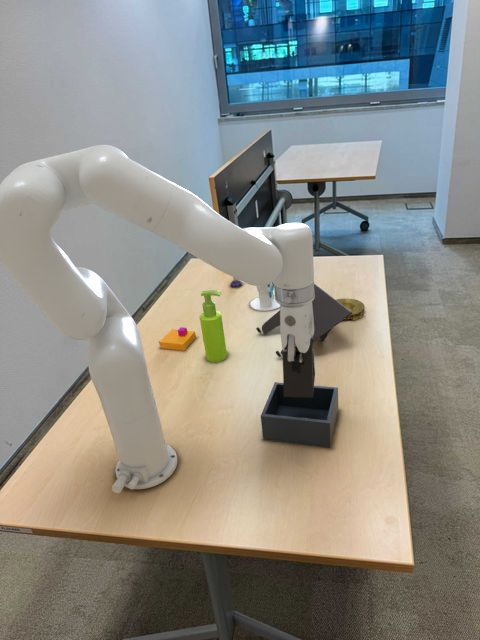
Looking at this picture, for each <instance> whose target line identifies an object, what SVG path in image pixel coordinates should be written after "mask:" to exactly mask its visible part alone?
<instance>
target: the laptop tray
mask: <svg viewBox="0 0 480 640" xmlns="http://www.w3.org/2000/svg"><path fill="white" fill-rule="evenodd" d="M314 294H315V298H314V300H313V301H312V306H313V318H314V335H313V343H314V342H316V341H318V340H319V339H320V341H321V342H324V341H325V340H326V338H327V337H328V336H329V334H330V332H331V331H332V330H333V329H334V328H335V327H336V326H337V325H339V324H340V323H342V322H343V321H344V320H346V319H345V318H346V317H347V316H349V315H351V314H352V312H351V311H350V310H348V309H347V308H346V307H344V306H343V305H342V304H341V303H339V302H338V301H337V300H336V299H335V298H334V297H333V296H332V295H330V294H329V293H328V292H326V291H325V290H324V289H322V288H321V287H320V286H319V285H317V284H316V283H314ZM279 326H280V309H279V310H278V311H277V312H276V313H274V314H272V316H271V317H270V318H269V319H267V320H266V321H265V322H264V323H263V324H262V325H261V329H260V327H259V326H258V327H256V328H255V329H256V331H257V333H258V334H259V335H261V336H262V335H264V334H268V333H269V332H271V331H273V330H275V329H276V328H278V327H279ZM275 354H276V356H277V357H278V358H279V359H282V360H283V352H282V350H281V351H279V350H276V351H275Z"/></svg>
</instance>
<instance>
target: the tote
mask: <svg viewBox="0 0 480 640" xmlns="http://www.w3.org/2000/svg"><path fill="white" fill-rule="evenodd" d="M338 413H339V387H336V386H325V385H314V393H313V398H299V397H284V384H283V382H280V381H279V382H277V381H274V383H273V385H272V388H271V390H270V392H269V394H268V397H267V399H266V402H265V405H264V406H263V409H262V412H261V414H260V423H261V424H260V425H261V434H262V441H270V442H277V443H287V444H294V445H302V446H303V445H304V446H312V447H319V448H320V447H321V448H329V449H330V448H331V446H332V441H333V437H334V432H335V429H336V423H337V419H338V418H337V417H338Z"/></svg>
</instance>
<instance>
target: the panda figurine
mask: <svg viewBox="0 0 480 640" xmlns="http://www.w3.org/2000/svg"><path fill="white" fill-rule="evenodd" d="M256 290H257V292H258V297H255V298H254V299H252V300H251V301H250V304H249V306H250V308H251V309H252V310H255V311H260V312H270V311H274V310H277V309H280V304H278V303H277V302H276V301H275V295H274V282H272V283H271V284H268V285H265V286H256Z"/></svg>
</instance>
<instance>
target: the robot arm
mask: <svg viewBox="0 0 480 640" xmlns="http://www.w3.org/2000/svg"><path fill="white" fill-rule="evenodd" d="M93 204H94V205H95V206H97V207H99V208H100V209H102V210H105V211H107V212H108V213H110V214H113V215H115V216H117V217H119V218H121V219H123V220H125V221H127V222H129V223H132V224H134V225H136V226H138V227H139V228H142V229H144V230H146V231H148V232H150V233H152V234H155V235H156V236H158V237H160V238H163V239H164V240H167V241H168V242H170V243H172V244H173V245H175V246H176V247H177V248H179V249H181V250H183V251H184V252H186V253H188V254H190V255H192V256H194V257H196V258H197V259H199V260H201V261H202V262H204V263H206V264H208V265H209V266H211V267H212V268H214V269H216V270H218V271H219V272H222V273H223V274H226V275H228V276H230V277H232V278H233V277H234V278H236V279H238V280H239V281H240V282H242V283H245V284H247V285H250V286H254V287H257V286H265V285H268V284H271V283H272V282H274V290H273V292H274V296H275V301H276V302H277V303H278V304H280V307H279V310H280V325H279V326H280V327H279V328H280V342H281V350H282V349H283V351H284V352H286V351H287V349H288V362H292V371H294V372H295V371H297V373H299V374H300V364H303V365H304V361H303V353H306V352H307V351H308V349H309V346H310V340H311V338H312V336H313V335H314V318H313V306H312V301H313V300H314V298H315V294H314V284H315V270H314V242H313V241H314V238H313V237H314V236H313V232H312V231H313V230H312V229H311V227H309V226H308V225H307V224H304V223H300V222H287V223H282V224H279V225H277V226H271V227H270V226H269V227H243V228H242V227H240V226H238V225H237V224H235V223H233V222H232V221H230V220H228V219H227V218H225V217H224V216H222V215H221V214H219V213H218V212H217V211H215V210H214V209H213V208H212V207H210V206H209V205H208V204H207V203H206V202H205V201H204V200H202V199H201V198H200V197H199V196H197V195H196V194H194V193H193V192H192V191H190V190H188V189H187V188H184V187H182V186H180V185H178V184H177V183H175V182H173V181H170V180H168V179H166V178H165V177H163V176H162V175H160V174H158V173H156V172H154V171H152V170H150V169H149V168H148V167H145V166H144V165H142V164H140V163H138V162H137V161H135V160H133V159H131V158H129V156H128V155H126V153H124V151H123V150H121V149H120V148H118V147H116V146H114V145H110V144H97V145H92V146H88V147H85V148H81V149H77V150H74V151H69V152H66V153H62V154H57V155H52V156H49V157H45V158H40V159H36V160H32V161H28V162H26V163H25V162H24V163H23V164H21V165H20V164H19V166H17V167H16V168H15V169H13V170H12V171H11V172H10V173H9V174H7V176H5V178H4V179H3V180H1V183H0V265H1V266H2V267H3V269H4V270H6V271H7V273H8V274H9V275H10V276H11V277H12V278H13V280H14V281H15V282H16V283H17V284H18V285H19V287H20V288H21V289H22V290H23V291H24V293H25V294H26V295H27V297H29V298H30V300H31V301H32V302H33V303H34V304H35V306H37V308H38V309H39V310H40V311H41V312H42V313H43V314H44V316H45V317H46V318H47V319H48V320H49V322H51V324H52V325H53V326H54V328H55V329H56V330H57V331H59V332H60V333H61V334H63V335H64V336H66V338H68V339H73V340H76V341H85V340H87V341H88V343H87V366H88V372H89V376H90V379H91V381H92V384H93V386H94V389H95V391H96V393H97V395H98V398H99V401H100V403H101V407H102V410H103V413H104V416H105V418H106V421H107V426H108V428H109V431H110V434H111V438H112V441H113V443H114V447H115V450H116V453H117V457H118V459H119V460H117V463H116V465H115V469H114V470H115V477H116V480H115V482H114V483H113V484H112V486H111V491H112V492H113V493H115V494H121V492H122V491H123V489H124V488H127V489H129V490H146V489H150V488H153V487H156V486H158V485H160V484H162V483H163V482H165V481H167V480H168V479H169V478H170V477H171V476H172V475H173V474H174V472H175V470H176V468H177V466H178V455H177V453H176V451H175V450H174V448H173V447H171V446H170V445H168V444H167V443H166V439H165V433H164V431H163V427H162V422H161V419H160V414H159V410H158V407H157V403H156V399H155V395H154V391H153V386H152V383H151V379H150V374H149V371H148V366H147V361H146V357H145V353H144V347H143V343H142V338H141V333H140V330H139V327H138V325H137V323H136V321H135V320H134V318H133V316H132V315H131V314H130V313H129V311H128V310H127V309H126V308H125V306H124V304H122V302H121V301H120V300H119V298H118V297H117V295H115V293H114V291H113V290H112V289H111V288H110V286H109V285H108V284H107V283H106V281H105V280H104V279H103V278H102V277H101V276H100V275H99V274H97V273H96V272H94V271H93V270H92V269H89V268H86V267H83V266H82V267H81V266H75V264H74V263H73V262H72V260H71V259H70V257H69V256H68V254H67V253H65V251H64V250H63V249H62V248H61V247H60V246H59V245H58V243H56V241H55V240H54V238H53V235H52V229H53V228H54V226H55V225H56V223H57V222H58V220H59V219H60V217H61V215H62V212H65V211H69V210H73V209H76V208H80V207H84V206H88V205H93ZM295 352H299V355H298V354H295Z"/></svg>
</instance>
